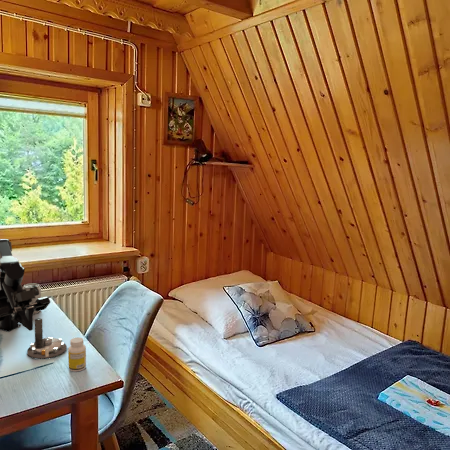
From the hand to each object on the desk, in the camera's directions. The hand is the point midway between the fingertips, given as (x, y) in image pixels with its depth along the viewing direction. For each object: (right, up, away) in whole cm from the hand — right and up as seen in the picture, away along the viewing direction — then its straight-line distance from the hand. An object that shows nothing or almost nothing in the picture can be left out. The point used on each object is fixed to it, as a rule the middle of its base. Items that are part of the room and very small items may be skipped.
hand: (31, 329), depth 150 cm
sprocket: (+5, -6, +1) cm, 8 cm away
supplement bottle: (+20, -10, -10) cm, 24 cm away
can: (-16, -1, +35) cm, 39 cm away
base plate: (+5, -7, +1) cm, 9 cm away
